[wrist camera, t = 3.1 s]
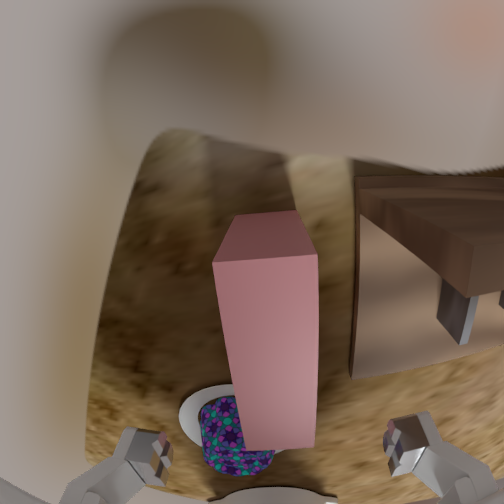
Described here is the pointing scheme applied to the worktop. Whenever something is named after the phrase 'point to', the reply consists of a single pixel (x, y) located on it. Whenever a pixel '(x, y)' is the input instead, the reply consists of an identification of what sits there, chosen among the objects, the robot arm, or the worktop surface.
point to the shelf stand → (426, 270)
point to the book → (271, 327)
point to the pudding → (221, 432)
